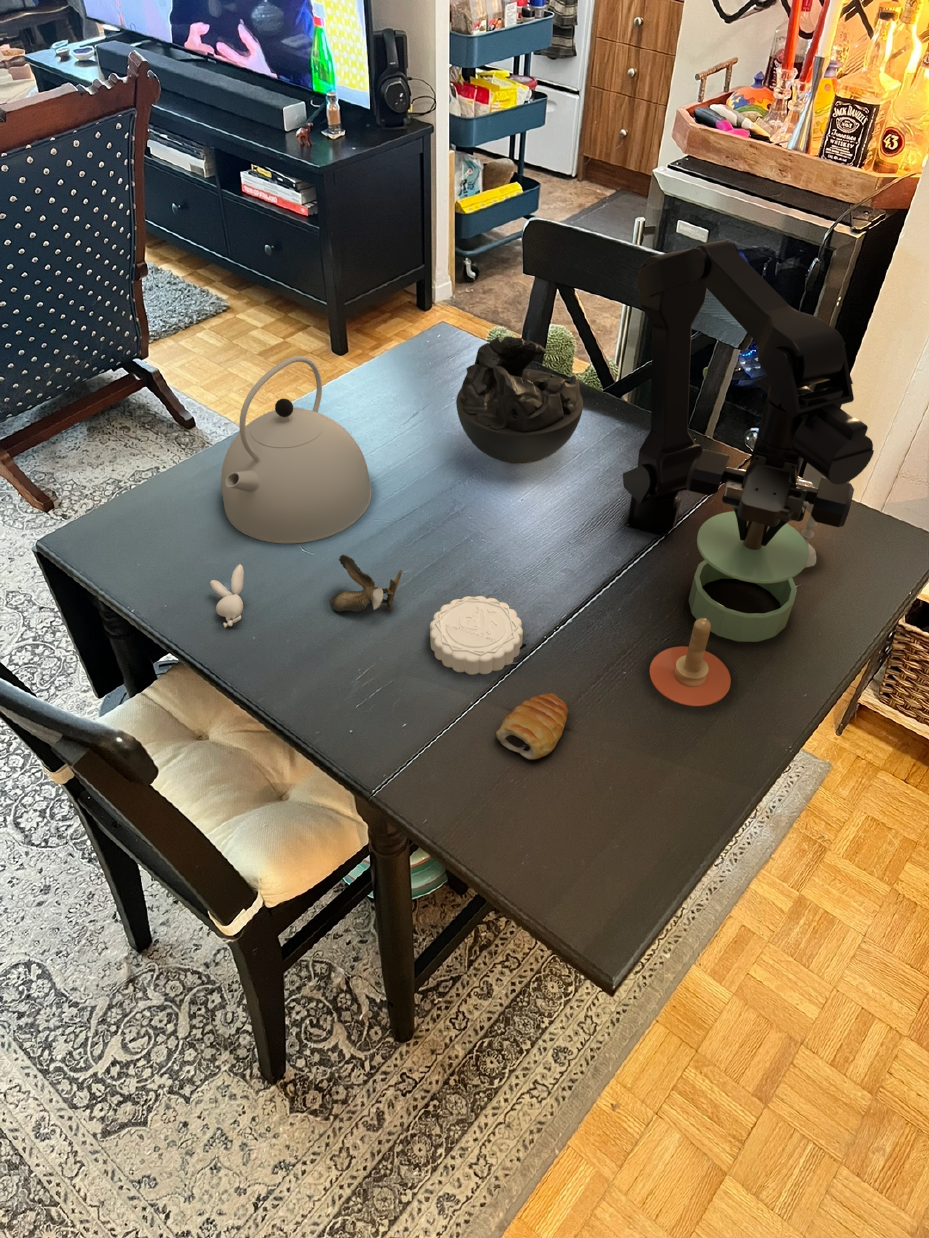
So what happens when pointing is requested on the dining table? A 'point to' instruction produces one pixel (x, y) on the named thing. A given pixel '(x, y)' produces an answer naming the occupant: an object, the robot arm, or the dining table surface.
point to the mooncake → (476, 635)
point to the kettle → (293, 472)
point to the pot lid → (751, 550)
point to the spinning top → (683, 694)
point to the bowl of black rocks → (517, 403)
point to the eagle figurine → (368, 594)
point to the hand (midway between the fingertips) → (753, 541)
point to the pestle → (694, 656)
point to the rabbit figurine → (230, 597)
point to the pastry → (534, 726)
